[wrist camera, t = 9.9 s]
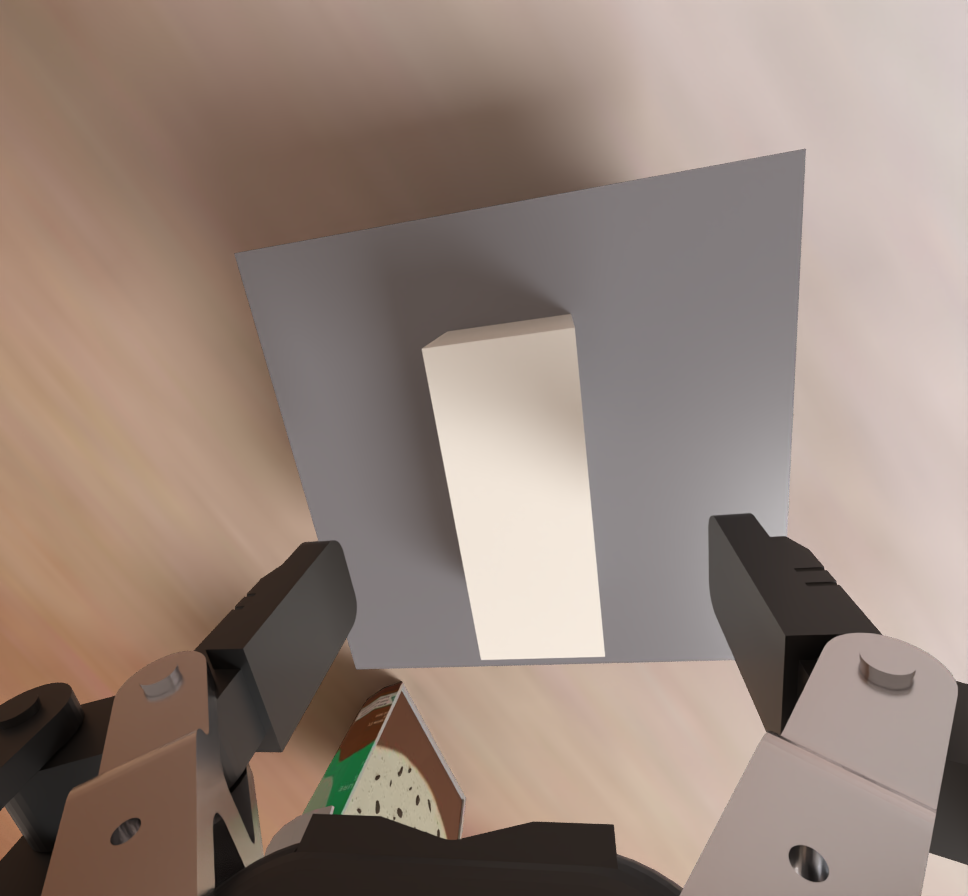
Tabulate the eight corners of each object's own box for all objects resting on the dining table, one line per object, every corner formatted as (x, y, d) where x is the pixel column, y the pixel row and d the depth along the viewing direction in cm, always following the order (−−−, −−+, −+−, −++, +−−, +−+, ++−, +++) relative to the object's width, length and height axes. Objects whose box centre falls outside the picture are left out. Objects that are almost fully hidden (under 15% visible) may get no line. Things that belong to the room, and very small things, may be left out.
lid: (790, 155, 13) (881, 115, 9) (771, 641, 18) (825, 738, 14) (249, 253, 15) (158, 252, 12) (363, 654, 20) (323, 737, 17)
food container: (298, 683, 30) (180, 877, 20) (391, 661, 28) (309, 860, 19) (388, 827, 33) (322, 1051, 24) (475, 815, 32) (442, 1048, 22)
